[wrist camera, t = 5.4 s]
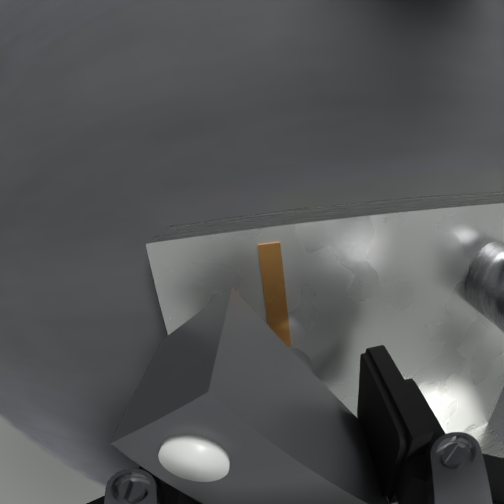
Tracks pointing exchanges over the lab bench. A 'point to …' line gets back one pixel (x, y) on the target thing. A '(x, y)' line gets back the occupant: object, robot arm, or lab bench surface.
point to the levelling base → (363, 292)
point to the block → (244, 418)
